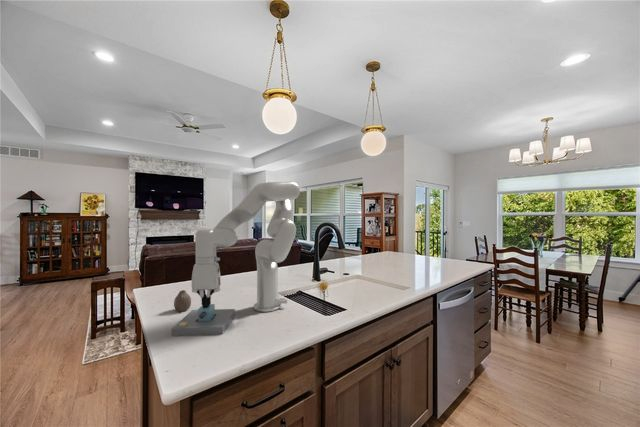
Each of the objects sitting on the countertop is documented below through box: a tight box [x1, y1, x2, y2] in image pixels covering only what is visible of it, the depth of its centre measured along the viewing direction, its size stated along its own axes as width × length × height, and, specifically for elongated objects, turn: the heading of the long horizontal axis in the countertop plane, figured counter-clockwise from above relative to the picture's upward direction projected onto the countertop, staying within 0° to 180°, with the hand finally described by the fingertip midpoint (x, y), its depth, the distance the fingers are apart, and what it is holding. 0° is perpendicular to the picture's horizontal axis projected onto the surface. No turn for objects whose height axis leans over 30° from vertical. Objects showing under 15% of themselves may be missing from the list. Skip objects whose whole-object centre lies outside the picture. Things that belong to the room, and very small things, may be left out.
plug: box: [197, 303, 216, 322], centre depth 103 cm, size 4×8×7 cm, turn 4°
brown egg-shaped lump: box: [173, 289, 192, 313], centre depth 119 cm, size 7×7×9 cm
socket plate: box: [171, 308, 236, 336], centre depth 104 cm, size 18×18×3 cm
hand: (206, 306), depth 104 cm, fingers closed
